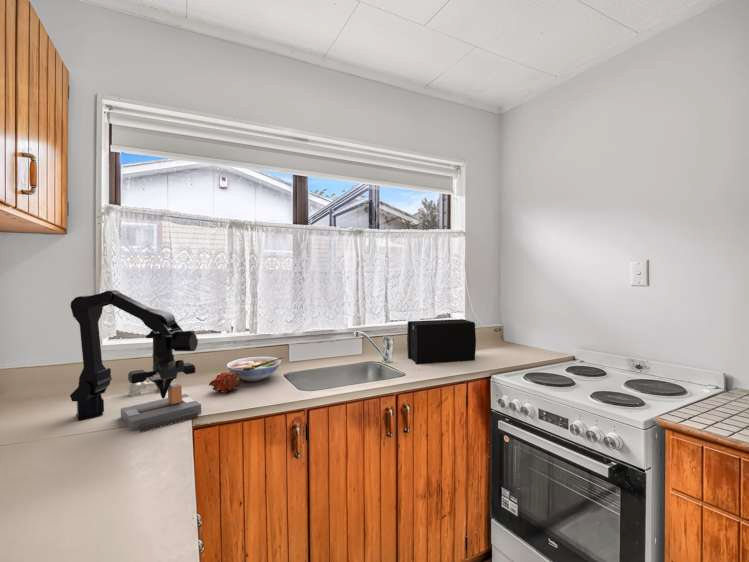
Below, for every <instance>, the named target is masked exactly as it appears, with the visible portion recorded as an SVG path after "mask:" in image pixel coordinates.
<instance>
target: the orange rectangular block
mask: <svg viewBox="0 0 749 562" xmlns="http://www.w3.org/2000/svg"><path fill="white" fill-rule="evenodd" d="M182 386H183V385H181V384H180V383H178V382H173V383H172V382H171V383H170V385H169V388H168V390H167V398H168V401H169V402H170V403H171V404H175V403H180V402H182V395H183V393H182V392H183V391H182Z"/></svg>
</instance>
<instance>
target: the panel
mask: <svg viewBox="0 0 749 562" xmlns="http://www.w3.org/2000/svg"><path fill="white" fill-rule="evenodd" d="M194 411H197V412H198V415H200V414H202V404H201V403H200V402H199V401H197V400H196V399H194V398H193V397H192V396H190V395H189V394H187V393H184V394H182V402H180V403H175V404H171V403H170V402H169V401H168V397H167V398H166V397H165V398H163V399H162V398H161V399H158V400H153V401H148V402H144V403H140V404H139V403H138V404H135V405H130V406H126V407H121V408H120V419H121V420H122V421H123V422H124V424H125V425H126V426H127V428H128V430H129V431H130V430H131V431H132V432H135V431H134V430H136V431H140V425H143V424H147V423H151V422H155V421H159V420H163V419H167V418H171V417H175V416H179V415H182V414H186V413H190V412H194ZM199 413H200V414H199Z"/></svg>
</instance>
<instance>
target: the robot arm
mask: <svg viewBox="0 0 749 562" xmlns="http://www.w3.org/2000/svg"><path fill="white" fill-rule="evenodd" d="M69 305H70V309H71V314H72V317H74V319H75V320H76V321H77V322H78V324H79V325H78V326H79V332H80V333H79V334H80V341H81V342H80V345H81V354H82V355H81V356H82V363H83V368H82V370H81V372H80V375H79V378H78V386H77V388H76V389H75V390H73V392H71V394H70V395H69V396H70V400H71V402H76V413H75V416H76V418H77V420H78V421H82V420H86V419H92V418H96V417H100V416H103V415H104V412H105V405H104V404H105V403H104V402H105V401H104V398H103V397H102V395H103V394H104V393H106V390H107V388H108V387H109V386H110V385H111V381H112V380H113V378H112V375H111V374H112V372H111V371H112V370H111V368H110V367H108V368H106V367H105V366H104V364H103V360H102V349H101V338H100V326H99V321H100V318H101V316H102V315H103V310H104V309H103V308H105V307H107V306H109V305H111V306H113V307H116V308H117V309H120V311H124V313H127V314H129V315H131V316H134V317H135V318H136V319H139V320H140V321H142V323H143V324H144V325H145V326H146V327H147V328H148V329H150V330H151V331H150V333H148V334H147V335H146V336H145V338H146V339H152V356H151V357H152V370H149V371H145V370H144V369H138V370H131V371H129V373H128V374H127V381H128V380H129V381H130V382H131V383H139V382H144V381H145V382H146V380H147V379H148V380H149V381H150V382H154V383H155V384H156V385H155V386H156V388H157V390H158V392H159V395H160V397H161V399H166V395H167V394H168V388H169V385H170V384H172V382H173V381H174V380H175V379H177V378H178V373H184V375H192V374H195V373H196V365H195V364H193V363H191V362H185V361H184V360H183V359H178V360H175V357H174V351H175V352H195V351H196V349H197V348H198V343H199V341H198V337H197V335H196V334H195V330H192V329H191V330H183V329H182V327H181V326H180V325H179V323H178V322H177V321H176V318H175V315H174V314H173V313H171V312H168V311H165V310H162V309H156V308H151V307H149V306H148V305H146V304H143V303H142V302H140V301H137V300H135V299H134V298H132V297H129V296H128V295H125V294H123V293H122V292H120V291H119V290H117V289H116V290H115V289H113V290H105V291H104V292H101V293H97V294H92V295H84V296H83V295H80V296H76V297H74V298H73V300H71V301H70V304H69ZM173 350H174V351H173Z"/></svg>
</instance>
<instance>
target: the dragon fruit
mask: <svg viewBox="0 0 749 562" xmlns="http://www.w3.org/2000/svg"><path fill="white" fill-rule="evenodd" d="M241 382H242V379H241V378H240V376H238V374H236V373H235V374H234V373H233V372H231V371H230V370H229V371H228V372H225V371H222V372H221V373H220V374H217V375H216V377H215V378H214V379H213V380H211V381H210V382H209V384H208V386H211V387H212V390H213V391H215V392H220V391H223V393H224V394H226V393H228V392H230V391H231V392H233V391H234V389H236V388H239V387H240V386H241Z"/></svg>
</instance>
